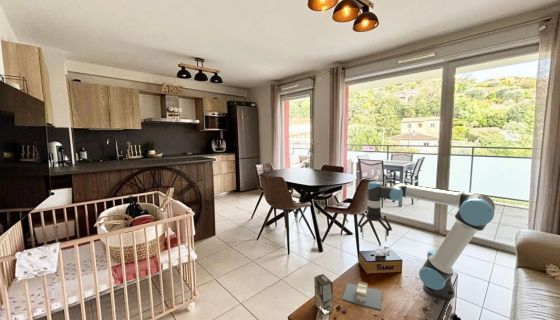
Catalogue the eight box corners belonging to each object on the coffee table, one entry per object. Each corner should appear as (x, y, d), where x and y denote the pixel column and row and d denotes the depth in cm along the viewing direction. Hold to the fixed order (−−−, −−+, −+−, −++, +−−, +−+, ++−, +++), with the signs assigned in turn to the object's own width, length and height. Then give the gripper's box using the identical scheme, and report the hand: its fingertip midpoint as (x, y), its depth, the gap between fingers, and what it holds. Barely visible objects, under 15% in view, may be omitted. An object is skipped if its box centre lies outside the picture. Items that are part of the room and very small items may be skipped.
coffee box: (333, 311, 121) (333, 282, 120) (323, 315, 118) (323, 286, 117) (323, 300, 129) (323, 273, 128) (314, 304, 127) (313, 276, 125)
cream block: (366, 301, 127) (366, 293, 126) (356, 299, 129) (356, 291, 128) (367, 290, 136) (367, 283, 135) (358, 288, 138) (358, 281, 137)
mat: (381, 292, 135) (381, 291, 135) (380, 310, 121) (380, 309, 120) (347, 283, 144) (347, 282, 144) (342, 299, 129) (342, 298, 129)
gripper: (396, 206, 142) (395, 239, 143) (354, 203, 153) (354, 233, 154) (396, 210, 135) (396, 244, 137) (352, 206, 146) (353, 238, 148)
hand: (374, 238), depth 146 cm, fingers open, 13 cm apart
